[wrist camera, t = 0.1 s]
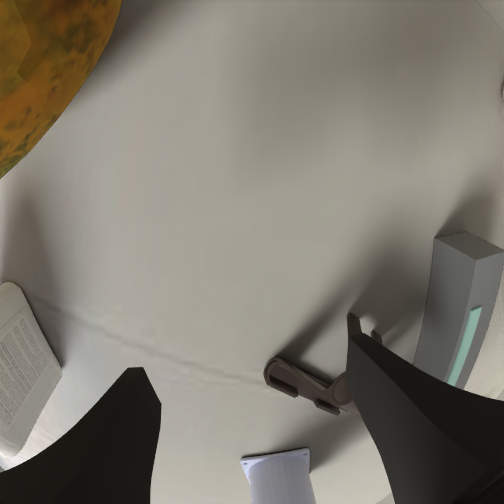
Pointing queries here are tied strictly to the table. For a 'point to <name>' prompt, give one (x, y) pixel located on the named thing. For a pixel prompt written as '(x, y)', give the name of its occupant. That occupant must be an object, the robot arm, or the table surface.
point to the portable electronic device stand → (315, 379)
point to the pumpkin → (45, 64)
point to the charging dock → (458, 306)
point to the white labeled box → (22, 370)
